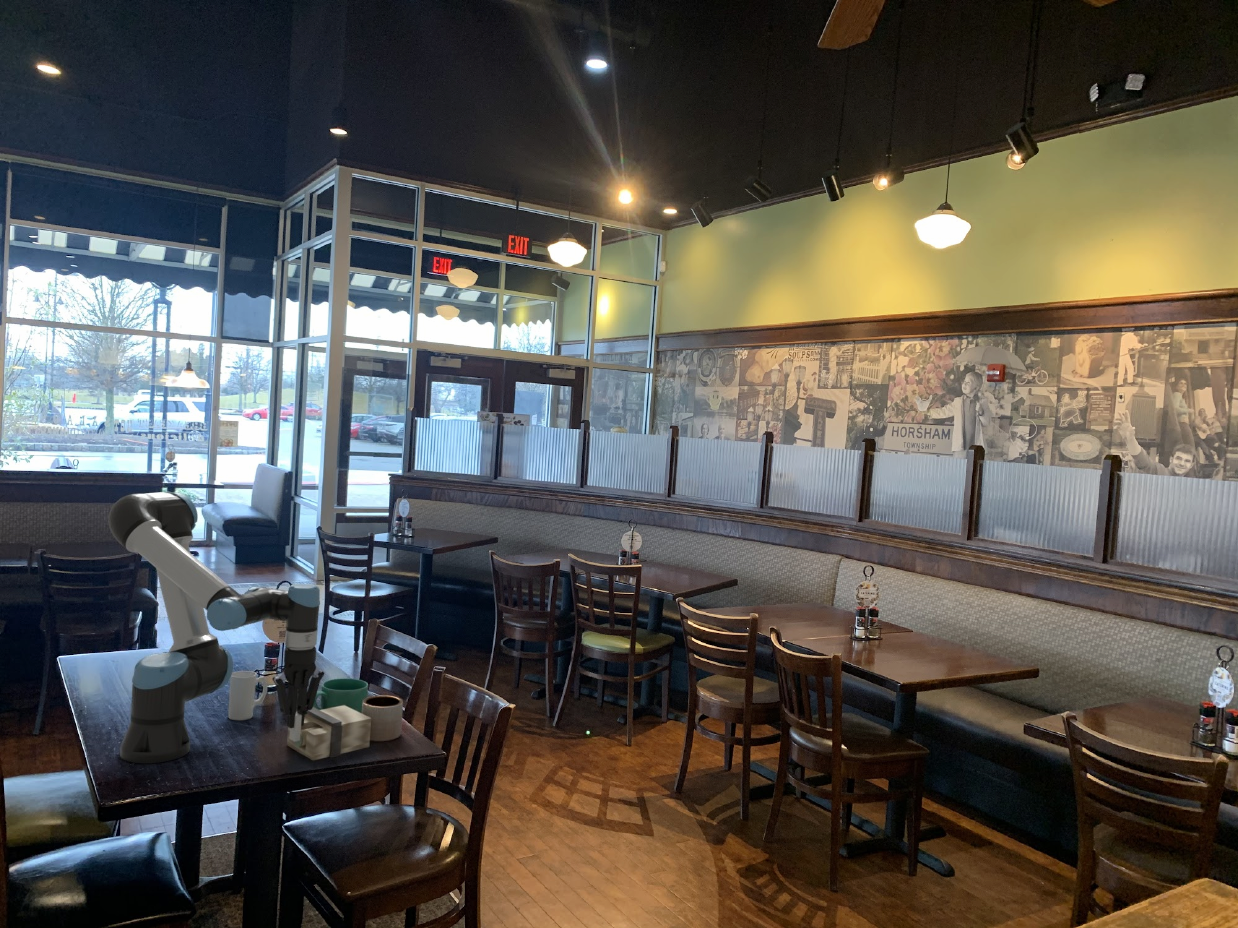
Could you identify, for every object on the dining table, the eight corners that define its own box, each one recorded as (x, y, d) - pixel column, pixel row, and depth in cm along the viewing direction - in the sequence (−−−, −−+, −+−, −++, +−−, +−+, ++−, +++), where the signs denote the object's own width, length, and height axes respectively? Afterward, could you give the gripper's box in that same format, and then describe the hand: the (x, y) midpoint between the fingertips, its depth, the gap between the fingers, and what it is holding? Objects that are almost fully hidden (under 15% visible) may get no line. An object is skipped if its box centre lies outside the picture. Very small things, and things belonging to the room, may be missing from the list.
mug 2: (353, 707, 258) (355, 675, 258) (373, 719, 249) (376, 686, 249) (298, 716, 246) (301, 683, 246) (318, 729, 237) (320, 695, 237)
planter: (367, 727, 242) (369, 693, 242) (405, 730, 242) (408, 696, 242) (353, 740, 231) (356, 705, 231) (394, 744, 231) (396, 708, 231)
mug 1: (230, 721, 238) (233, 678, 237) (224, 714, 243) (227, 672, 243) (268, 717, 244) (271, 674, 243) (262, 710, 249) (265, 668, 249)
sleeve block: (314, 761, 215) (317, 727, 215) (284, 743, 225) (287, 711, 225) (371, 747, 227) (373, 715, 227) (340, 731, 237) (342, 700, 237)
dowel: (300, 748, 218) (301, 733, 218) (292, 744, 220) (293, 728, 220) (350, 737, 228) (351, 722, 228) (342, 732, 231) (343, 718, 231)
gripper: (283, 653, 210) (276, 749, 211) (332, 646, 220) (326, 738, 221) (268, 646, 215) (262, 740, 216) (317, 640, 225) (311, 730, 226)
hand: (294, 739), depth 218 cm, fingers closed
